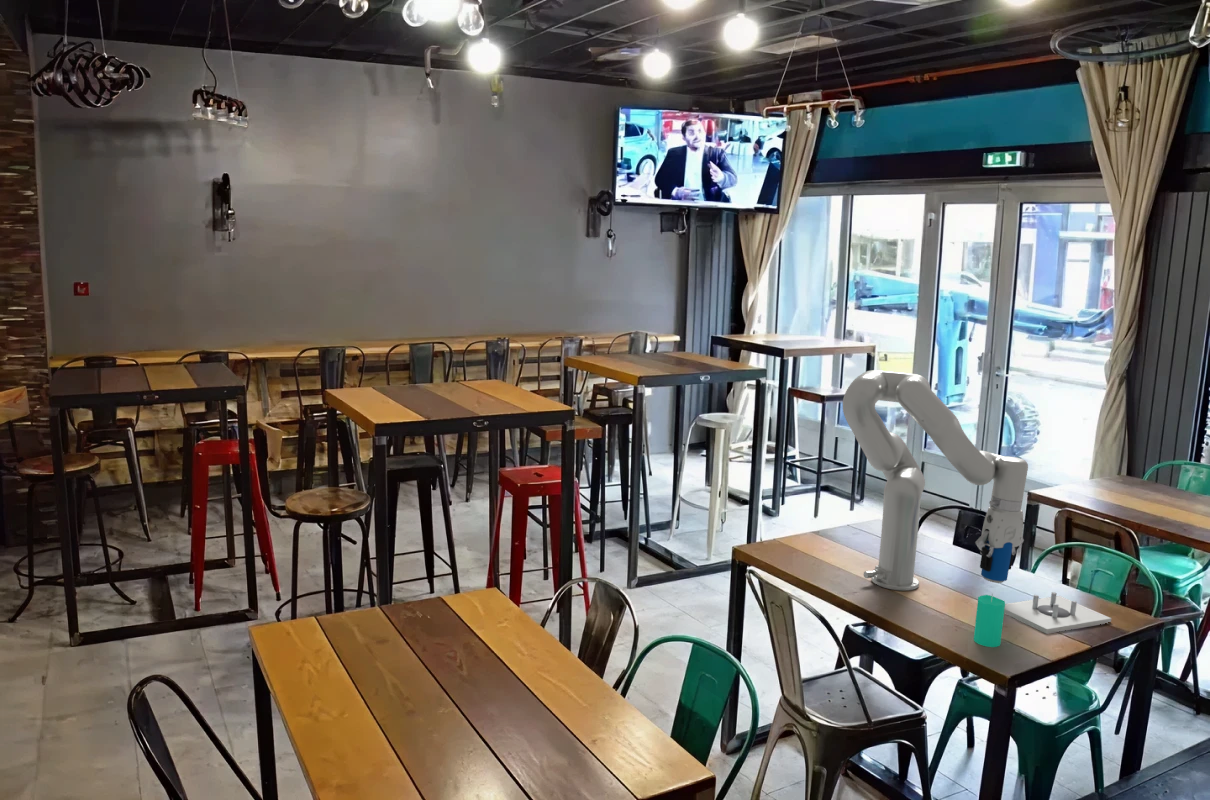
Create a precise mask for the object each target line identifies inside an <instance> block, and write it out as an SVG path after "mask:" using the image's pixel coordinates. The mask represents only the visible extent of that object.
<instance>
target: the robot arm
mask: <svg viewBox="0 0 1210 800" xmlns="http://www.w3.org/2000/svg"><path fill="white" fill-rule="evenodd" d="M878 401H883V402H890V403H899V404H900V406H901V407H902V408H903V409H904V410H905V411H906V412H907V414H909V416H910V417H912V419H913V420H914V421H915V422H916V423H917V424H918V425H919V426H920V427H921V428H922V430H923V431H924V432H925V433H926V434H927V435H928V436H929V437H930V439H931V440H932V442H933V444H935V445H936V447H937V448H938V449H939V450H940V451H941V453H942V454H943V456H944V457H945V458H946V459H947V461H948V462H949V464H951V465H952V466H953V467H954V469H955V470H956V471H958V472H959V474H960V475H961V476H962V477H963V478H964V479H965V480H966V481H967V482H969V483H971V484H972V485H975V486H984V485H987V484H988V483H990V482H992V480H993V485H992V492H991V497H990V500H989V502H988V503H989V506H988V509H987V511H986V514H985V517H984V521H983V526H982V530H981V536H979V537H978V539H976V541H975V542H974V543H975V545H976V546H977V549H978V551H979V553H980V554H981V557H980V563H979V568H980V569H981V570H982V569H984V570H986V571H988V572H989V571H991V565H992V559H993V557H991V555H992V553H993V551H994V548H996V549H998V548H1003V545H1004V544H1005V543H1007V542H1010V543H1012V544H1013V545H1012V553H1011V559H1010V565H1009V570H1012V565H1013V559H1014V556H1015V555H1016V554H1017V553H1016V552H1017V550H1018V549H1019V548H1020V546H1021V545H1022V544H1023V543H1024V541H1025V539H1024V537H1023V531H1024V530H1023V529H1024V513H1023V510H1022V505H1023V500H1024V495H1025V494H1024V493H1025V488H1026V482H1027V481H1026V480H1027V476H1028V471H1029V463H1028V461H1026V460H1024V459H1023V458H1019V457H1016V456H1010V455H1009V456H1008V455H1005V456H1003V455H1000V454H996V453H993V452H990V451H986V450H979V449H978V448H977V447H976V446H975V445H974V443H973V442H972V441H971V440H970V438H968V436H967V435H966V433H965V432H964V429H963V428H962V426H961V423H960V421H959V419H958V418H957V416H956V414H955V413H953V411H952V410H951V409H950V408H949V407H948V406H947V405H946V404H945V403H944V402H943V401H942V400H941V399H940V398H939V396H937V394H936V393H935V392H934V391H932V388H931V384H930V383H929V381H928V379H927V378H926V377H924V376H923V375H920V374H917V373H908V372H907V373H906V372H896V371H895V372H894V371H887V370H878V369H877V370H876V369H873V370H866V371H864V372H863V373H861V374H860V375H858V376H857V377H855V378H854V380H852V382H851V383H850V384H849V386H848V387H847V389H846V391H845V393H844V396H843V399H842V410H843V411H842V412H843V415H844V418H845V420H846V423H847V424H848V426H849V428H850V430H851V432H852V434H853V436H854V437H855V440H856V441H857V443H858V445H859V446H860V448H861V451H862V452H863V454H864V455H865V457H866V460H867V461H868V463H869V465H870V466H872V468H873V469H875V470H877V471H880V472H882V474H883V475H884V476H885V478H886V483H885V485H884V488H883V499H882V501H883V505H882V507H883V508H882V520H881V521H882V522H881V533H880V543H879V545H880V546H879V555H878V556H879V557H878V565H877V564H876V565H875V567H874V569H872V570H865V571H864V572H863V577H864V578H865V579H871V582H873V584H874V585H876V584H877V585H876V586H878V587H882V588H884V589H888V590H892V591H894V590H895V591H903V592H904V591H905V592H906V591H913V590H915V589H917V588H919V586H920V581H919V580H918V579H917V577H914V575H915V565H916V556H917V544H918V537H919V536H918V533H919V522H920V509H921V500H922V494H923V492H924V488H925V485H926V484H925V483H926V482H925V480H926V479H925V476H924V474H923V472H922V470H921V468H920V466H919V465H918V463H917V461H916V459H915V458H914V456H913V454H912V453H911V451H910V450H909V447H908V446H907V444H906V443H905V442H904V440H903V439H902V438H901V436H899V435H898V434H896V433H894V432H891V431H889V430H888V428H887V427H886V424H885V423H884V421H883V419H882V418H881V416H880V414H878V412H877V410H876V403H877V402H878ZM1008 540H1009V541H1008ZM988 541H989V544H988ZM988 546H989V547H990V548H989V550H987V547H988Z"/></svg>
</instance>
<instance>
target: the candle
mask: <svg viewBox="0 0 1210 800" xmlns="http://www.w3.org/2000/svg"><path fill="white" fill-rule="evenodd" d="M1005 604H1006V602H1005V600H1004V599H1000V598H998V597H997V596H993V593H991V595H989V594H983V595H982V594H981V595H979V596H978V597H977V603H976V606H977V607H976V615H975V625H974V633H973V641H974V642H975V644H978V645H981V646H983V647H988V648H998V647H1000V646H1001V643H1002V635H1003V634H1002V633H1003V626H1004V625H1003V624H1004V617H1005V613H1004V609H1005Z"/></svg>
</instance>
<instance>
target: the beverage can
mask: <svg viewBox="0 0 1210 800" xmlns="http://www.w3.org/2000/svg"><path fill="white" fill-rule="evenodd" d="M1008 541H1009V540H1008ZM988 544H989V541H988ZM1012 545H1013V544H1012V543H1010V542H1007V543H1005V544H1004V545H1003V548H998V549H996V548H994V551H993V553H992V555H991V557H993V559H992V565H991V571H989V572H988V571H986V570H984V569H981V571H980V575H981V576H982V577H983V579H984V580H986V581H988V582H990V583H995V584H1002V583H1004V582H1006V581H1007V580H1008V576H1009V565H1010V559H1011V553H1012ZM989 548H990V547H989V546H988V547H987V550H989Z"/></svg>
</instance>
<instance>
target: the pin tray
mask: <svg viewBox="0 0 1210 800" xmlns="http://www.w3.org/2000/svg"><path fill="white" fill-rule="evenodd" d="M1039 597H1040V596H1039V595H1038V594H1034V595H1033V597H1032V598H1033V599H1030V600H1029V599H1028V600H1023V601H1015V602H1009V603H1005V609H1004V615H1007V616H1009V617H1011V618H1013V619H1014V620H1017V621H1019V622H1022V623H1024V624H1025V625H1027V626H1030V627H1032V628H1034V629H1035V630H1038V631H1040V632H1042V633H1044V634H1047V635H1048V634H1053V633H1059V631H1060V632H1064V631H1065V630H1066V631H1070V630H1071V629H1072V630H1077V629H1083V628H1087V627H1094V626H1100V624H1101V625H1105V623H1107V624H1109V623H1108V622H1111V623H1112V617H1109V616H1107V615H1105V614H1102V613H1100V612H1098V611H1096V610H1093V609H1091V608H1089V607H1086V606H1084V605H1082V604H1079V603H1078V602H1077V601H1076V600H1070V599H1068V598H1066V597H1063V596H1061V595H1057V592H1054V591H1052V592H1051V595H1050V597H1049V596H1048V597H1042V598H1039ZM1072 630H1071V631H1072ZM1066 631H1065V632H1066Z"/></svg>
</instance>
